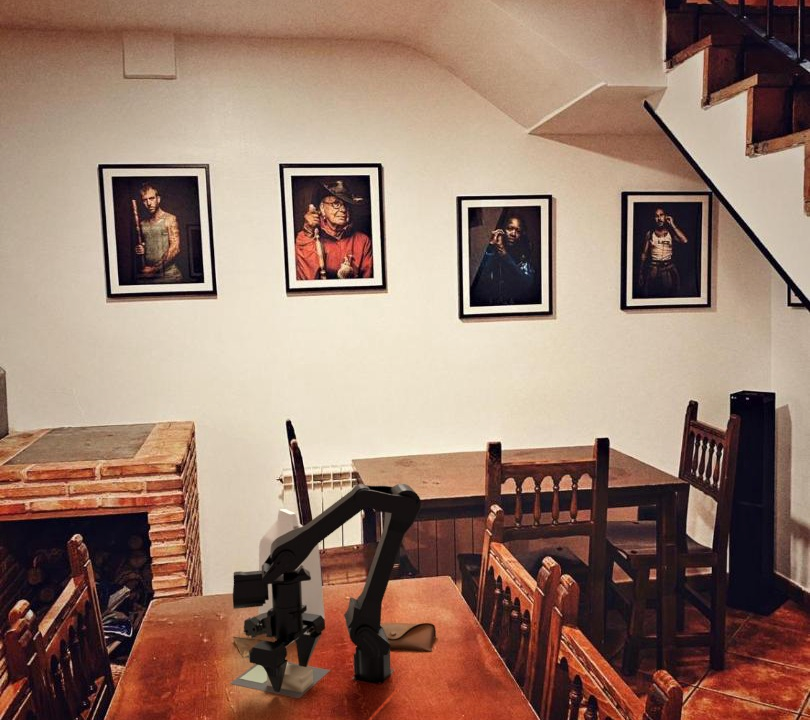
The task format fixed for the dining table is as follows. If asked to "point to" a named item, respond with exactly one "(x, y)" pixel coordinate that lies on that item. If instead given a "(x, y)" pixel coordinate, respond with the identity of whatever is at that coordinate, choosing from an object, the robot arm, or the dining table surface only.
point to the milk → (310, 588)
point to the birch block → (296, 678)
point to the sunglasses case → (410, 636)
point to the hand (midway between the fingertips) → (290, 680)
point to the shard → (245, 645)
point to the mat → (258, 680)
